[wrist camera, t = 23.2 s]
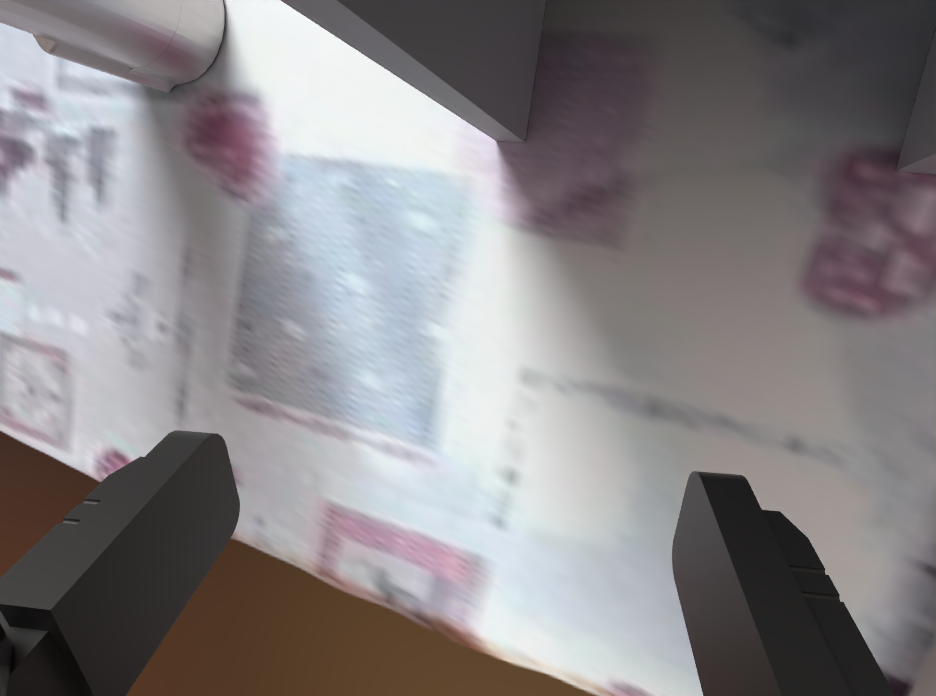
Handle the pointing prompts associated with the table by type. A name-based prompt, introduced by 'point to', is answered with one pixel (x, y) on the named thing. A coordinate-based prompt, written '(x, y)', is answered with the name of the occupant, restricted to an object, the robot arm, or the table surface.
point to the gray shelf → (508, 60)
